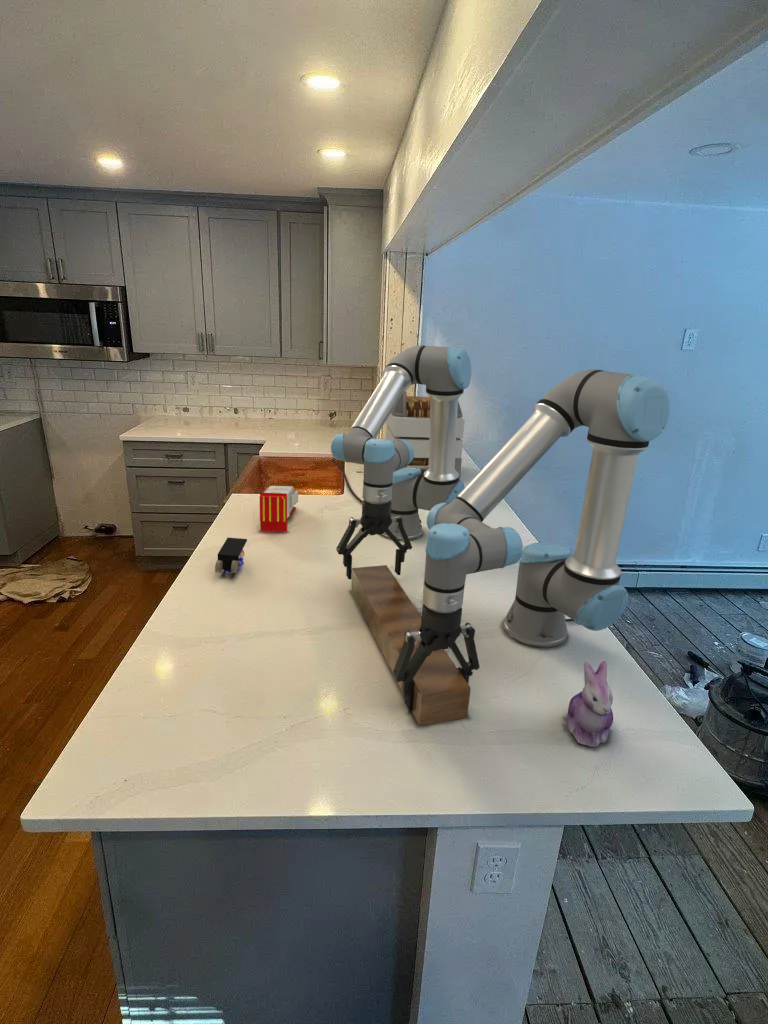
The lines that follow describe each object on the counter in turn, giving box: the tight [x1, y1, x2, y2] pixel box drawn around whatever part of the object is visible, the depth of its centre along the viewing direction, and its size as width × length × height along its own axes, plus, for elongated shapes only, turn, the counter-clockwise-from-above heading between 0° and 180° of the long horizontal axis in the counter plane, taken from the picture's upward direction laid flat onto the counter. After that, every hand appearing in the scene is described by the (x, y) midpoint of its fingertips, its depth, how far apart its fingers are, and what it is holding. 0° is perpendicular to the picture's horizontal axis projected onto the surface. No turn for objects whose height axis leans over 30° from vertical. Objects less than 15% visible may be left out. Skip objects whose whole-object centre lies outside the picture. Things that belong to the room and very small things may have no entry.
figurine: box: [566, 660, 614, 748], centre depth 106 cm, size 9×10×15 cm
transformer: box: [384, 391, 465, 481], centre depth 268 cm, size 34×33×41 cm
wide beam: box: [350, 564, 471, 727], centre depth 133 cm, size 56×10×7 cm, turn 17°
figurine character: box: [214, 537, 248, 578], centre depth 166 cm, size 7×8×15 cm
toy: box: [259, 485, 299, 533], centre depth 208 cm, size 12×13×30 cm
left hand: (373, 575), depth 152 cm, fingers open, 13 cm apart
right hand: (433, 702), depth 114 cm, fingers closed on wide beam, 10 cm apart
